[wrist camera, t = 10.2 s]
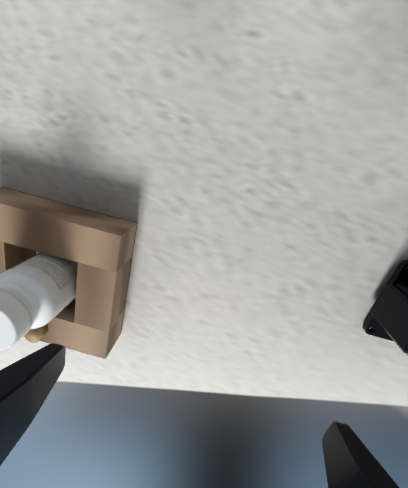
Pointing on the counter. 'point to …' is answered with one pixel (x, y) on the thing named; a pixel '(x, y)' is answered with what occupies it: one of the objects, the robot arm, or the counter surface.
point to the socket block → (88, 271)
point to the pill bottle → (34, 294)
